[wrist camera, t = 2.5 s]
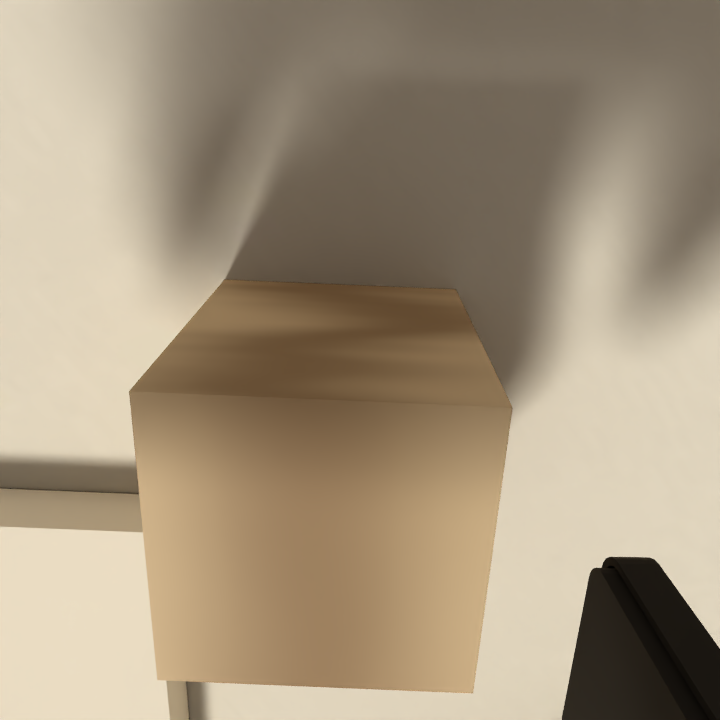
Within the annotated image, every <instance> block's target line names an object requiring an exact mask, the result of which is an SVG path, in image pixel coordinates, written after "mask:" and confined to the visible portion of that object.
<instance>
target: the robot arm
mask: <svg viewBox="0 0 720 720" xmlns="http://www.w3.org/2000/svg"><path fill="white" fill-rule="evenodd" d="M562 720H720V648H719V647H718V646H717V644H716V643H715V642H714V640H713V639H712V637H711V636H710V635H709V633H708V632H707V630H706V629H705V628H704V626H703V625H702V623H701V622H700V621H699V619H698V618H697V617H696V615H695V614H694V612H693V611H692V610H691V608H690V607H689V605H688V604H687V603H686V601H685V600H684V598H683V597H682V596H681V594H680V593H679V592H678V590H677V589H676V587H675V586H674V585H673V583H672V582H671V580H670V579H669V578H668V576H667V575H666V573H665V572H664V571H663V569H662V568H661V567H660V565H659V564H658V563H657V562H656V561H655V560H654V559H652V558H643V557H609V558H606V560H605V561H604V563H603V565H602V568H594V569H593V570H592V571H591V573H590V576H589V581H588V586H587V591H586V596H585V601H584V607H583V612H582V617H581V622H580V627H579V632H578V638H577V643H576V648H575V653H574V658H573V664H572V669H571V674H570V679H569V684H568V689H567V695H566V700H565V705H564V710H563V715H562Z"/></svg>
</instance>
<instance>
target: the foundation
mask: <svg viewBox="0 0 720 720" xmlns="http://www.w3.org/2000/svg"><path fill="white" fill-rule="evenodd" d="M0 720H189V712H188V699H187V686H186V681H166V680H157V672H156V661H155V651H154V641H153V631H152V620H151V610H150V600H149V590H148V579H147V569H146V559H145V549H144V538H143V528H142V518H141V507H140V497H139V494H121V493H96V492H72V491H47V490H23V489H0Z"/></svg>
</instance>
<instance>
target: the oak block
mask: <svg viewBox="0 0 720 720" xmlns="http://www.w3.org/2000/svg"><path fill="white" fill-rule="evenodd" d="M129 395H130V405H131V415H132V425H133V436H134V446H135V456H136V466H137V477H138V487H139V497H140V507H141V518H142V528H143V538H144V549H145V559H146V569H147V579H148V590H149V600H150V610H151V620H152V631H153V641H154V651H155V661H156V672H157V680H166V681H190V682H214V683H238V684H262V685H286V686H310V687H334V688H358V689H381V690H405V691H429V692H453V693H473V689H474V682H475V675H476V667H477V660H478V653H479V646H480V638H481V631H482V624H483V617H484V610H485V602H486V595H487V588H488V581H489V573H490V566H491V559H492V552H493V545H494V537H495V530H496V523H497V516H498V509H499V501H500V494H501V487H502V480H503V472H504V465H505V458H506V451H507V444H508V436H509V429H510V422H511V415H512V406H511V403H510V401H509V399H508V397H507V395H506V393H505V391H504V389H503V387H502V385H501V383H500V381H499V378H498V376H497V374H496V372H495V370H494V368H493V366H492V364H491V362H490V360H489V358H488V356H487V353H486V351H485V349H484V347H483V345H482V343H481V341H480V339H479V337H478V335H477V333H476V330H475V328H474V326H473V324H472V322H471V320H470V318H469V316H468V314H467V312H466V310H465V308H464V305H463V303H462V301H461V299H460V297H459V295H458V293H457V291H456V289H436V288H413V287H389V286H366V285H342V284H318V283H295V282H271V281H248V280H224V281H223V282H222V283H221V285H220V286H219V287H218V288H217V289H216V290H215V292H214V293H213V294H212V295H211V296H210V297H209V299H208V300H207V301H206V302H205V303H204V304H203V306H202V307H201V308H200V309H199V310H198V311H197V313H196V314H195V315H194V316H193V317H192V318H191V320H190V321H189V322H188V323H187V324H186V325H185V327H184V328H183V329H182V330H181V331H180V332H179V334H178V335H177V336H176V337H175V338H174V340H173V341H172V342H171V343H170V344H169V345H168V347H167V348H166V349H165V350H164V351H163V352H162V354H161V355H160V356H159V357H158V358H157V359H156V361H155V362H154V363H153V364H152V365H151V366H150V368H149V369H148V370H147V371H146V372H145V373H144V375H143V376H142V377H141V378H140V379H139V380H138V382H137V383H136V384H135V385H134V386H133V387H132V389H131V390H130V391H129Z"/></svg>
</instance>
